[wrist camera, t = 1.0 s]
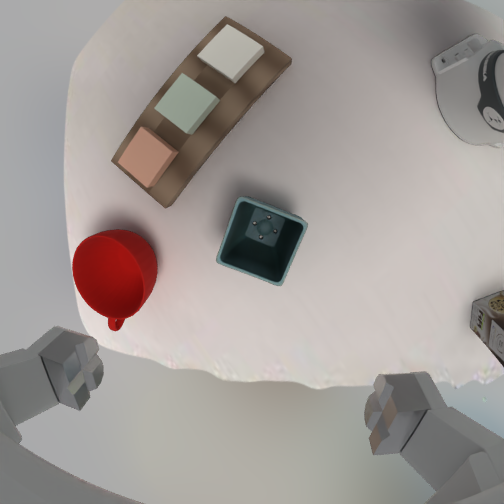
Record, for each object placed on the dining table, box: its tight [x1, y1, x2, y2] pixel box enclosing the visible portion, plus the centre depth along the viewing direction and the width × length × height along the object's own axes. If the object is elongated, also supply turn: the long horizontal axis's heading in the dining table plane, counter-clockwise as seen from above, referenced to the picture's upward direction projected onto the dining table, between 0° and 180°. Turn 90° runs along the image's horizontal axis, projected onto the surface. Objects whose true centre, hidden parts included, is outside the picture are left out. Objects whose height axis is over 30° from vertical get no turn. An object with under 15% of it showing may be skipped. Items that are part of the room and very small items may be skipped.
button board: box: [111, 16, 292, 208], centre depth 38 cm, size 28×12×2 cm, turn 140°
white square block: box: [197, 24, 264, 83], centre depth 33 cm, size 6×6×5 cm
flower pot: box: [216, 197, 308, 286], centre depth 40 cm, size 9×9×9 cm
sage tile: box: [154, 73, 220, 135], centre depth 36 cm, size 6×6×5 cm
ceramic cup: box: [72, 229, 157, 331], centre depth 44 cm, size 13×17×10 cm
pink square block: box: [118, 127, 179, 188], centre depth 39 cm, size 6×6×5 cm
